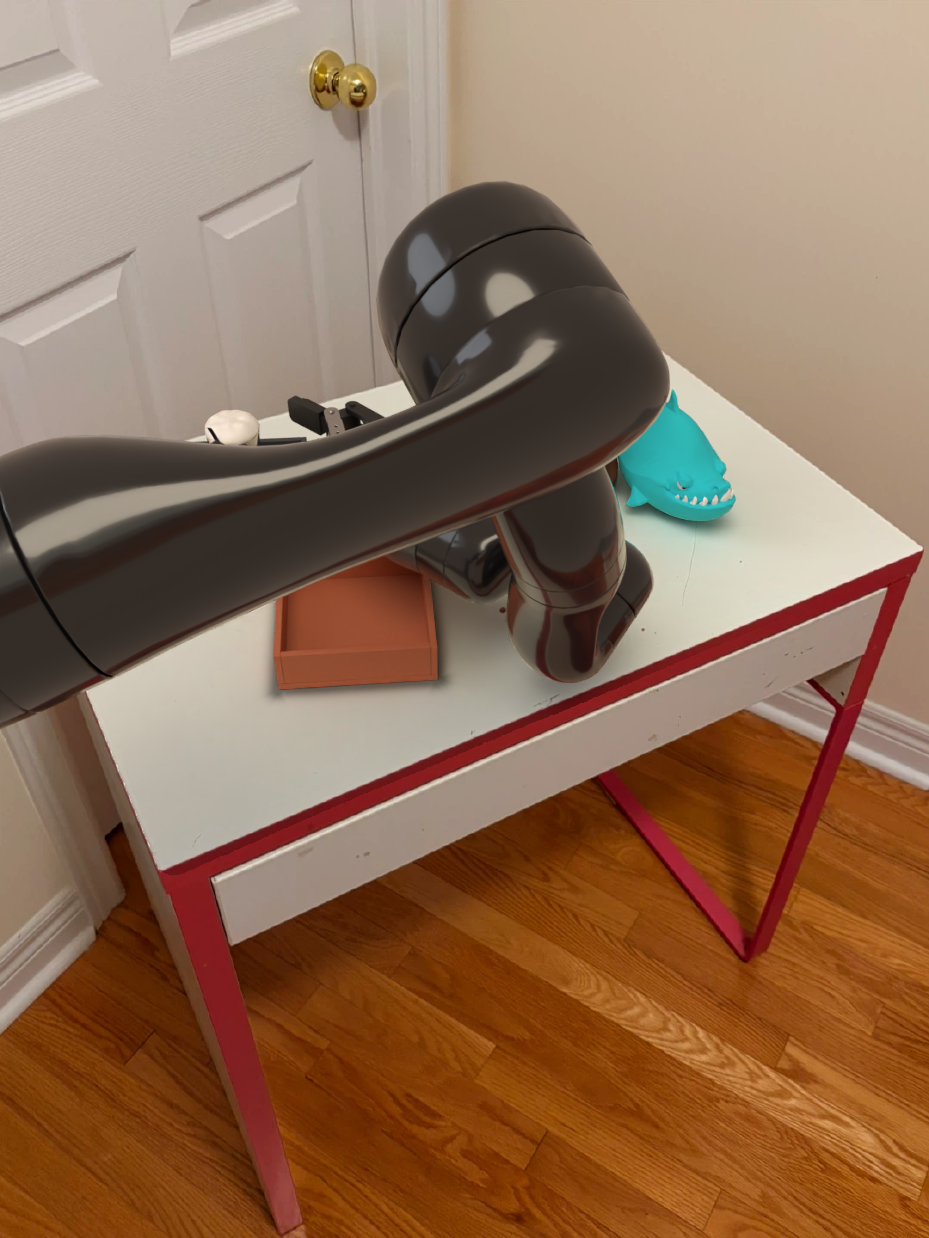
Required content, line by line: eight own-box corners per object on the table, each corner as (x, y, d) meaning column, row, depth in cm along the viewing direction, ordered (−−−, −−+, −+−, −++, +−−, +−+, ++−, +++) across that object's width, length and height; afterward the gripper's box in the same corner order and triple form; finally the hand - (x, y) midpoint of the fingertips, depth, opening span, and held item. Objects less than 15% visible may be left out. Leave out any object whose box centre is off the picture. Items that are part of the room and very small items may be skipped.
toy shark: (674, 563, 90) (695, 460, 82) (559, 456, 101) (567, 356, 94) (761, 528, 93) (789, 426, 86) (640, 428, 105) (655, 330, 97)
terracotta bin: (278, 689, 79) (273, 656, 76) (283, 582, 88) (278, 550, 85) (437, 679, 80) (437, 646, 77) (427, 575, 88) (426, 542, 86)
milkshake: (204, 517, 93) (184, 421, 86) (235, 483, 96) (219, 389, 89) (249, 530, 91) (233, 434, 85) (279, 495, 95) (266, 400, 88)
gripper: (461, 425, 80) (311, 353, 87) (329, 514, 72) (175, 427, 79) (460, 503, 85) (318, 429, 92) (337, 594, 77) (192, 506, 84)
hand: (252, 428), depth 86 cm, fingers open, 8 cm apart
